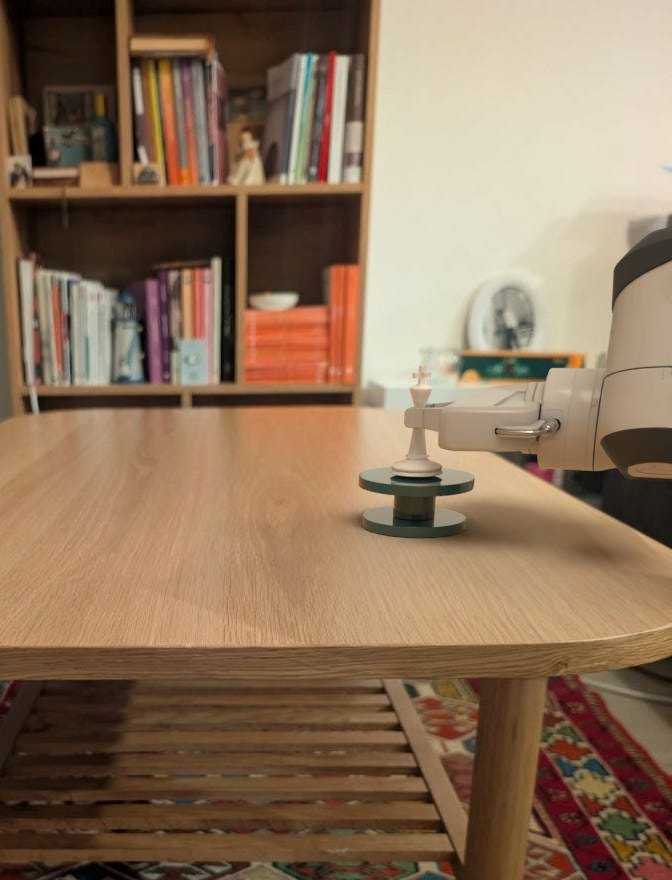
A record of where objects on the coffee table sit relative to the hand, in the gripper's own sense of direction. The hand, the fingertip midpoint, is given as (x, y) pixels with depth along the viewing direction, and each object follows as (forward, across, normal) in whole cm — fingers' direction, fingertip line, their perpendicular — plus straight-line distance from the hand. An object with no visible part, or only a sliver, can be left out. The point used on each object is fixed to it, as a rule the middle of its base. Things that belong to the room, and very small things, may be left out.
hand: (410, 414), depth 90 cm
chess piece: (-1, 0, -6) cm, 6 cm away
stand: (-1, 0, -11) cm, 11 cm away
